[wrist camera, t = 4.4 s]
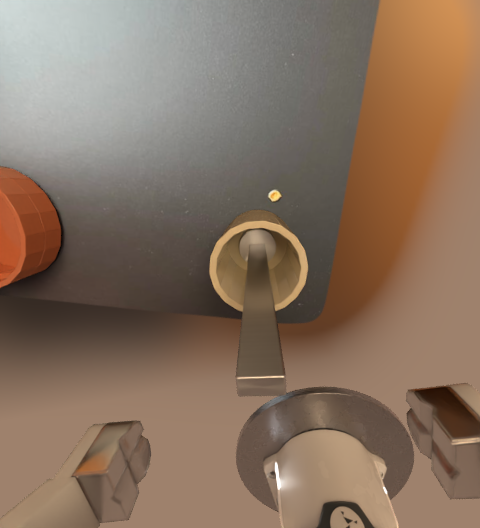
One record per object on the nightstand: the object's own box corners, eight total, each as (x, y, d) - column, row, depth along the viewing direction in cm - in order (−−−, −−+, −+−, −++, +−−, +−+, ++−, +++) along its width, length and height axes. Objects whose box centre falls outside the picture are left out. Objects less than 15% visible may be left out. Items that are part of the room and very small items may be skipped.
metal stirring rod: (275, 260, 32) (322, 433, 10) (241, 262, 33) (208, 434, 10) (274, 225, 31) (324, 330, 8) (238, 228, 31) (193, 336, 9)
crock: (292, 272, 33) (308, 312, 23) (227, 276, 34) (214, 316, 24) (290, 206, 31) (307, 217, 20) (220, 212, 32) (203, 225, 21)
